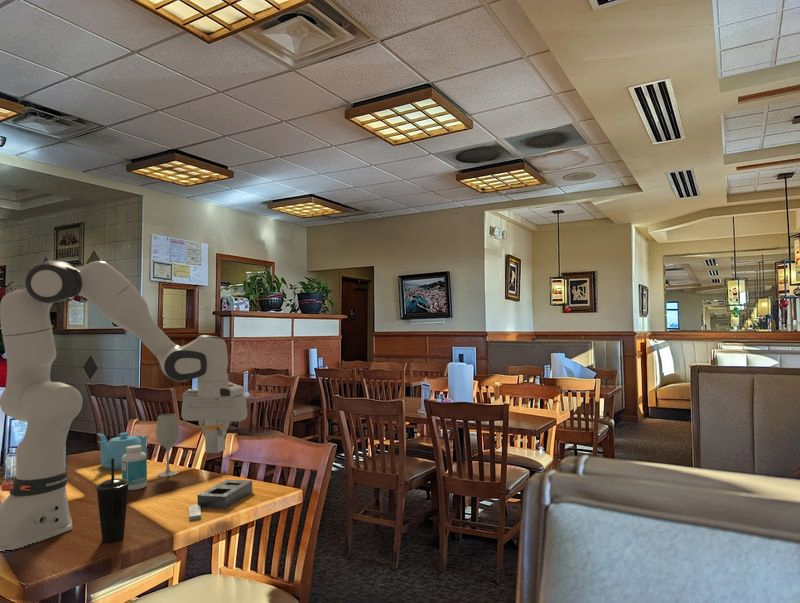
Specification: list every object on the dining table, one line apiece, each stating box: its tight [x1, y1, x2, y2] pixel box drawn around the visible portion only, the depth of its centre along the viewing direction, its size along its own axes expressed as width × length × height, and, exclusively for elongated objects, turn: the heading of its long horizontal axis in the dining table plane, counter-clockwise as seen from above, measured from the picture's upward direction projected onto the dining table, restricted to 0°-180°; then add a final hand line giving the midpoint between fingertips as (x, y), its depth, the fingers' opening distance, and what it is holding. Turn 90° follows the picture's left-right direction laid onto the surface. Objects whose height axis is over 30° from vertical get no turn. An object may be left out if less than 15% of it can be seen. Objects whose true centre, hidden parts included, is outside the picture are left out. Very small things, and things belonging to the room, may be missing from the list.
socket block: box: [197, 479, 253, 510], centre depth 169 cm, size 16×9×4 cm, turn 167°
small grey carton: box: [204, 419, 226, 454], centre depth 166 cm, size 4×4×10 cm
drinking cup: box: [95, 459, 130, 544], centre depth 140 cm, size 8×8×20 cm
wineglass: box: [155, 413, 180, 478], centre depth 199 cm, size 8×8×21 cm
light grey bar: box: [188, 503, 202, 522], centre depth 157 cm, size 10×3×2 cm, turn 22°
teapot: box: [97, 432, 150, 471], centre depth 213 cm, size 17×19×12 cm
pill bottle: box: [121, 445, 148, 491], centre depth 183 cm, size 8×7×14 cm
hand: (214, 435), depth 166 cm, fingers closed on small grey carton, 4 cm apart
